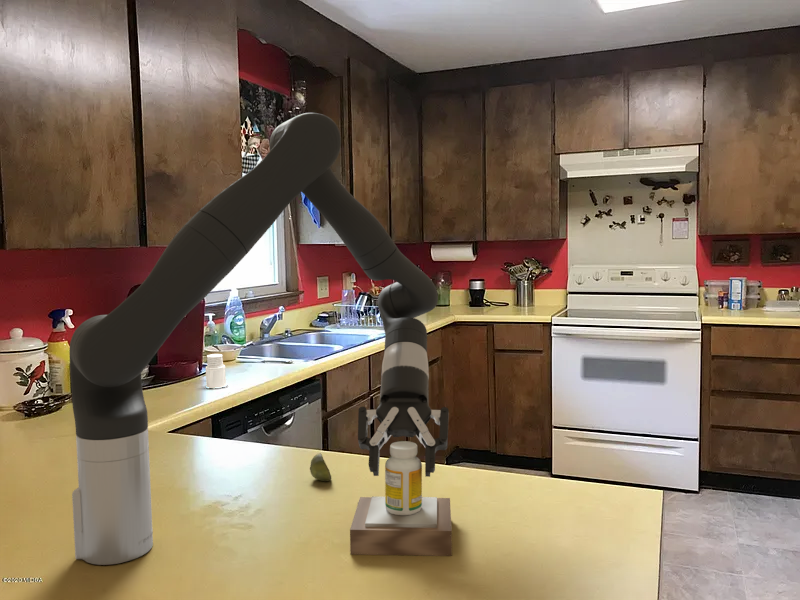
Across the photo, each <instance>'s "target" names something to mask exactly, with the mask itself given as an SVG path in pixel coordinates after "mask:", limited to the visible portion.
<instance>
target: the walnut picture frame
mask: <svg viewBox="0 0 800 600" xmlns="http://www.w3.org/2000/svg"><path fill="white" fill-rule="evenodd" d="M452 536H453V533H452V513H451V498H450V497H437V496H422V507H421V510H420V511H419V512H417V513H414V514H412V515H394V514H391V513H389V512H388V511H387V510H386V507H385V496H360V497H359V499H358V503H357V506H356V509H355V513H354V516H353V519H352V523H351V525H350V529H349V547H350V548H349V552H350V555H375V556H377V555H378V556H380V555H381V556H383V555H384V556H436V557H437V556H440V557H442V556H443V557H444V556H446V557H450V556H453V552H452V551H453V550H452V548H453V543H452V542H453V541H452V538H453V537H452Z"/></svg>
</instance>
